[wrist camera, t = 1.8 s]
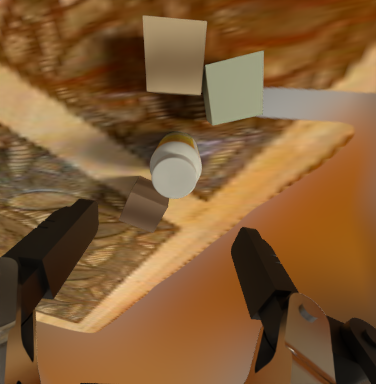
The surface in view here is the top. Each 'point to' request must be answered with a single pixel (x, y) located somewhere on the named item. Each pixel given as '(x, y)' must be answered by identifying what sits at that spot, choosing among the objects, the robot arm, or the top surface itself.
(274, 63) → the top surface
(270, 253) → the robot arm
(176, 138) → the supplement bottle
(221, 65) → the sage block
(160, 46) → the oak block
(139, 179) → the walnut block
